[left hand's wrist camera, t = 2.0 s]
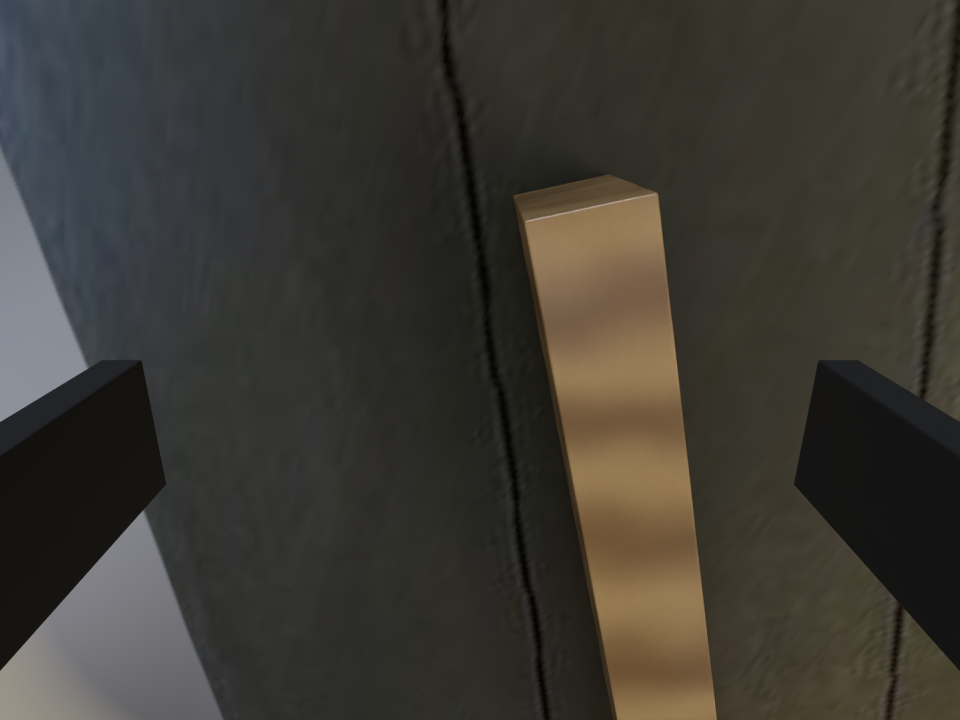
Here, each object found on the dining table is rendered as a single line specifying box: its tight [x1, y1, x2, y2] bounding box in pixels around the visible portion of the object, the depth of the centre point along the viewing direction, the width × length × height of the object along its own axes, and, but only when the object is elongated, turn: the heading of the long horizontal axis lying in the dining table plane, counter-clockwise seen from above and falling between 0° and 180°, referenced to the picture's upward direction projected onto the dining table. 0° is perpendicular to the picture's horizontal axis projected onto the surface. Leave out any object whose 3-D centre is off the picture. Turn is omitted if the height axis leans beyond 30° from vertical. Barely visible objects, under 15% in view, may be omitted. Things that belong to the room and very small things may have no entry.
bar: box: [513, 175, 717, 720], centre depth 34 cm, size 50×5×8 cm, turn 12°
